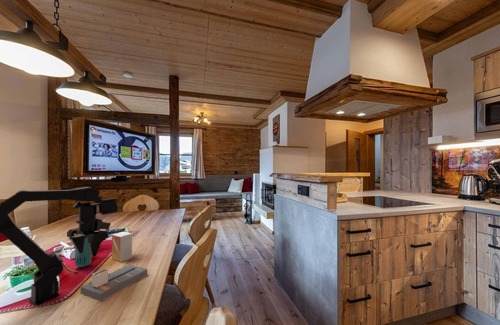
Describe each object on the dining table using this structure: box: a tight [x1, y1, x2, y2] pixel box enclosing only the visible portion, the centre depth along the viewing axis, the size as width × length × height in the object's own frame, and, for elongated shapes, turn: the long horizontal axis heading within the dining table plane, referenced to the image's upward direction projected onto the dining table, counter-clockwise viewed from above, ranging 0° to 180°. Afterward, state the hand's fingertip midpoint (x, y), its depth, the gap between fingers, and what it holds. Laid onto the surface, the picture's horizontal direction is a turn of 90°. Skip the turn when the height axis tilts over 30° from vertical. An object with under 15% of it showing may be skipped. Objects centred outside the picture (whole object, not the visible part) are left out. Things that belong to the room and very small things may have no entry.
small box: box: [111, 231, 133, 263], centre depth 111 cm, size 8×6×13 cm
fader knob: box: [91, 269, 109, 287], centre depth 81 cm, size 4×3×6 cm
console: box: [80, 264, 148, 302], centre depth 87 cm, size 20×12×3 cm, turn 157°
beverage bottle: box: [74, 237, 92, 268], centre depth 101 cm, size 6×7×20 cm
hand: (87, 254), depth 87 cm, fingers open, 9 cm apart
